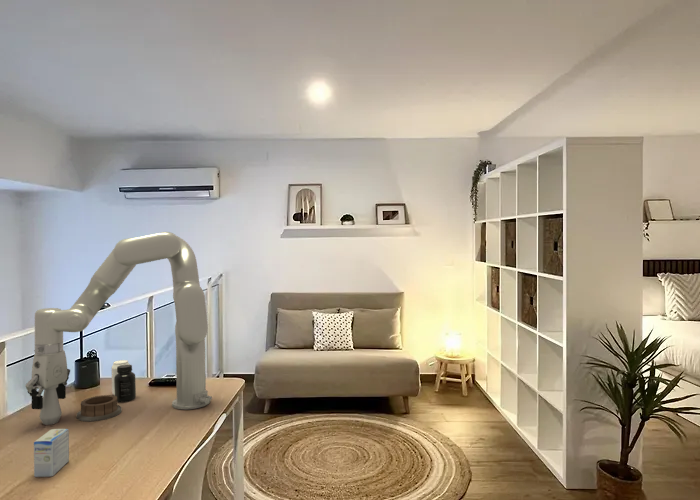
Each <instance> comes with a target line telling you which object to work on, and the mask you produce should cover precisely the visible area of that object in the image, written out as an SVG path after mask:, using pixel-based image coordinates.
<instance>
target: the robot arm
mask: <svg viewBox="0 0 700 500" xmlns="http://www.w3.org/2000/svg"><path fill="white" fill-rule="evenodd" d="M165 259H167V260H168V262H169V263H170V270H171V271H170V272H171V277H172V288H173V289H172V290H173V292H172V298H173V301H174V309H175V318H176V319H175V320H176V321H175V325H174V329H175V330H174V332H175V334H174V335H175V359H176V360H175V365H176V368H175V370H176V371H175V374H176V375H175V376H176V398H175V399H173V400H172V402H171V407H172V408H174V409H176V410H184V411H185V410H195V409H200V408H203V407H206V406H207V405H209V404H210V403H211V401H212V400H213V397H212V396H211V395H208V390H207V389H206V387H207V386H206V384H207V383H206V379H207V378H206V341H205V340H206V337H207V335H208V329H209V328H208V327H209V326H208V325H209V324H208V314H207V305H206V304H207V302H206V297H205V292H204V290H203V288H202V286H201V285H200V277H199V269H198V263H197V257H196V254H195V252H194V250H193V248H192V247H191V246H190V245H189V243H188V242H186V240H184V239H183V238H181V237H180V236H177V235H176V234H175V233H173V232H170V231H163V232H157V233H152V234H147V235H146V234H145V235H142V236H137V237H130V238H123V239H121V240H119V241H118V242H117V243H116V244H115V246H114V247H113V249H112V250H111V252H110V253H109V255H107V257H106V258H105V260H104V261H103V262H102V263H101V264H100V266H99V267H98V268H97V269H96V270H95V272H94V274H93V275H92V276H91V278H90V281H89V282H88V285H87V286H86V287H85V289H84V290H83V292H82V293H81V294H80V296H78V298H77V299H76V301H75V302H74V304H73V305H71V307H70V308H68V309H61V308H58V307H45V308H40V309H37V310H36V311H35V313H34V350H33V351H34V355H33V358H32V359H33V360H32V365H31V379H29V380H28V382H27V383H26V384H25V389H26V390H27V393H28V394H29V396H30V397H31V409H32V410H41V409H42V408H43V395H42V394H43V393H44V388H50V387H52V386H55V385H57V384H58V387H57V388H56V392H57V396H58V400H65V399H66V398H67V396H66V390H67V387H66V386H67V385H68V381H69V378H70V377H69V376H70V374H71V369H69V368H68V364H67V363H68V362H67V355H66V352H65V349H64V333H79V332H82V331H84V330H85V329H87V327H88V326H89V325H90V324H91V322H92V320H93V319H94V318H95V316H96V315H97V314H98V313H99V311H100V310H101V309H102V307H103V306H104V305H105V303H106V302H107V301H108V300H109V298H110V297H112V296H113V295H114V294H115V293H116V292H117V291H118V290H119V288H120V287H121V286H122V284H123V283H124V281H125V280H126V279H127V277H128V276H129V275H130V274H131V272H133V270H134V269H135V267H136V266H137V265H140V264H145V263H151V262H155V261H156V262H157V261H161V260H165Z"/></svg>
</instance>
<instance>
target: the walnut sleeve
mask: <svg viewBox="0 0 700 500" xmlns="http://www.w3.org/2000/svg"><path fill="white" fill-rule="evenodd" d="M122 408H123V407H122V406H121V405H118V402H117V396H115V395H114V394H103V395H96V396H92V397H91V396H90V397H88V398H86V399H83V400H81V402H80V410H79V411H78V412H77V413H76V420H78V421H80V422H88V423H89V422H99V421H105V420H108V419H112V418H115V417H116V416H119V415H120V414H122V412H123V411H122Z"/></svg>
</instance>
